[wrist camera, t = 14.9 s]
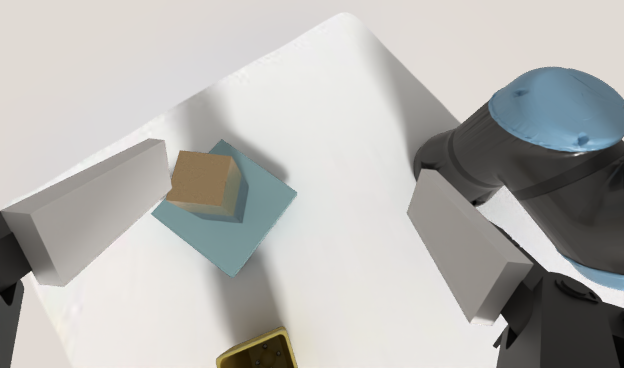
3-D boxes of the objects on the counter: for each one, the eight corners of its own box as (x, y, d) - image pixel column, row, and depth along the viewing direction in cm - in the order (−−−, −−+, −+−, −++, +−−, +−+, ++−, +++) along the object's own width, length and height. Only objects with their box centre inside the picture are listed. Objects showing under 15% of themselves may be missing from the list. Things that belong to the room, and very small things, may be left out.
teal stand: (296, 199, 46) (297, 192, 41) (238, 276, 41) (231, 277, 37) (228, 150, 48) (221, 139, 43) (165, 219, 43) (150, 213, 39)
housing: (249, 186, 41) (231, 156, 30) (242, 223, 39) (220, 206, 28) (211, 182, 41) (179, 150, 29) (203, 219, 39) (165, 200, 28)
